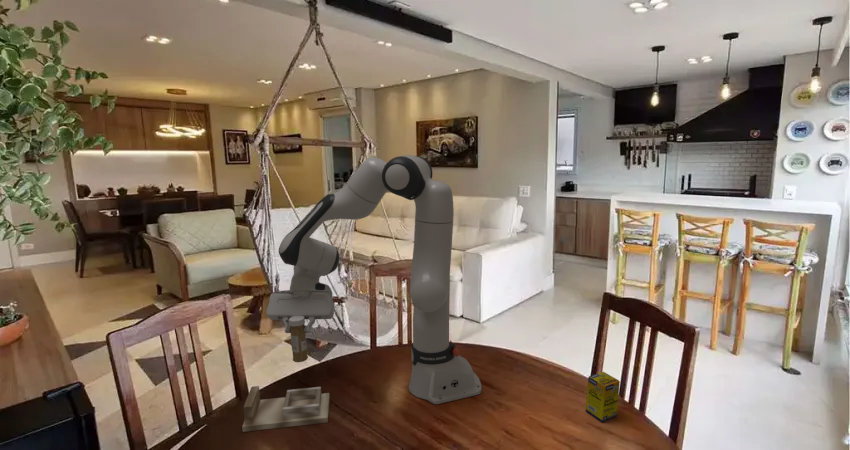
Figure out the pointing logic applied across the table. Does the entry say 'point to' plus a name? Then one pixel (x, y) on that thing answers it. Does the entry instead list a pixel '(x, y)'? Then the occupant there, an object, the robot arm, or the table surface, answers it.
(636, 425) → the table surface
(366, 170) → the robot arm
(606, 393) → the supplement box
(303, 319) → the sprinkles bottle
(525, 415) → the table surface
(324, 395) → the caddy
